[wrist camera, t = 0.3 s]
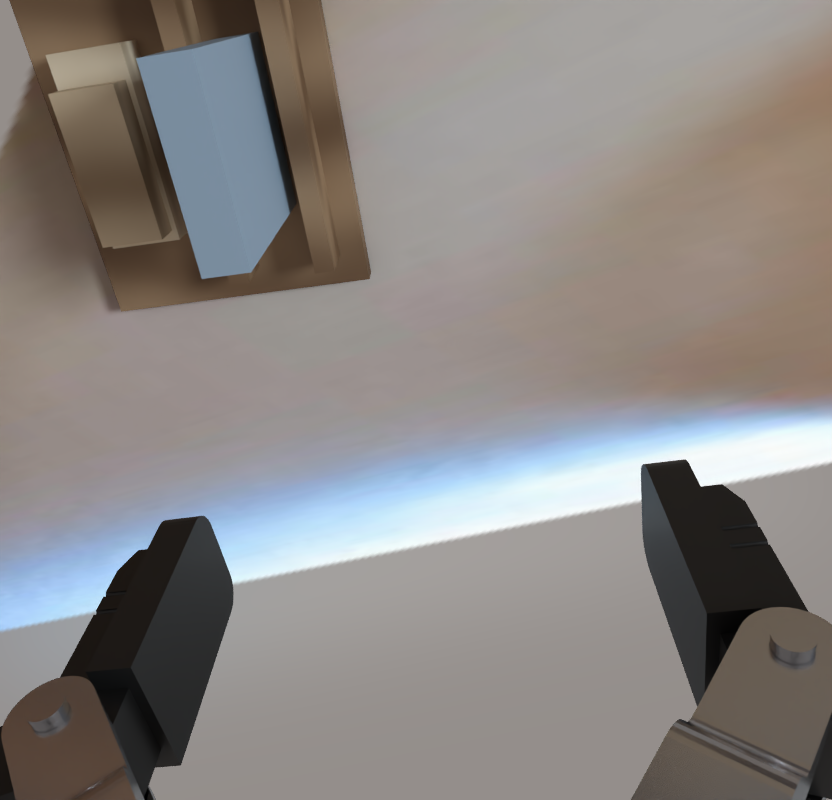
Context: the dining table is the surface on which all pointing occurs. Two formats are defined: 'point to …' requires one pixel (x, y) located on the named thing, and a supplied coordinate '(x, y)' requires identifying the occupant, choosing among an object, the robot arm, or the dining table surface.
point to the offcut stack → (115, 145)
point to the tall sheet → (221, 148)
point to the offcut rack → (298, 121)
